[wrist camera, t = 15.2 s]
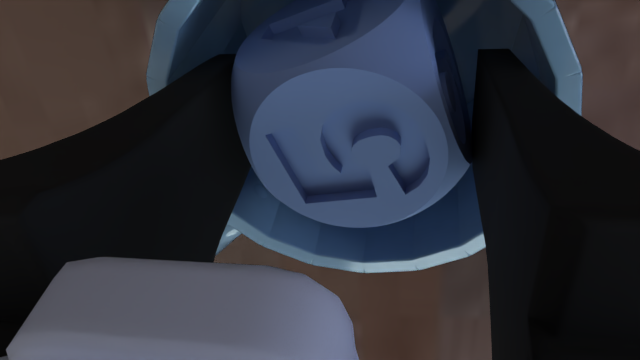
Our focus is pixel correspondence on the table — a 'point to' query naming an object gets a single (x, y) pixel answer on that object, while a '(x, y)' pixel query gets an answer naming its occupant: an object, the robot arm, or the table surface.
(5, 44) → the table surface
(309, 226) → the mug
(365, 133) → the decorative dice
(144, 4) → the table surface
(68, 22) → the table surface
